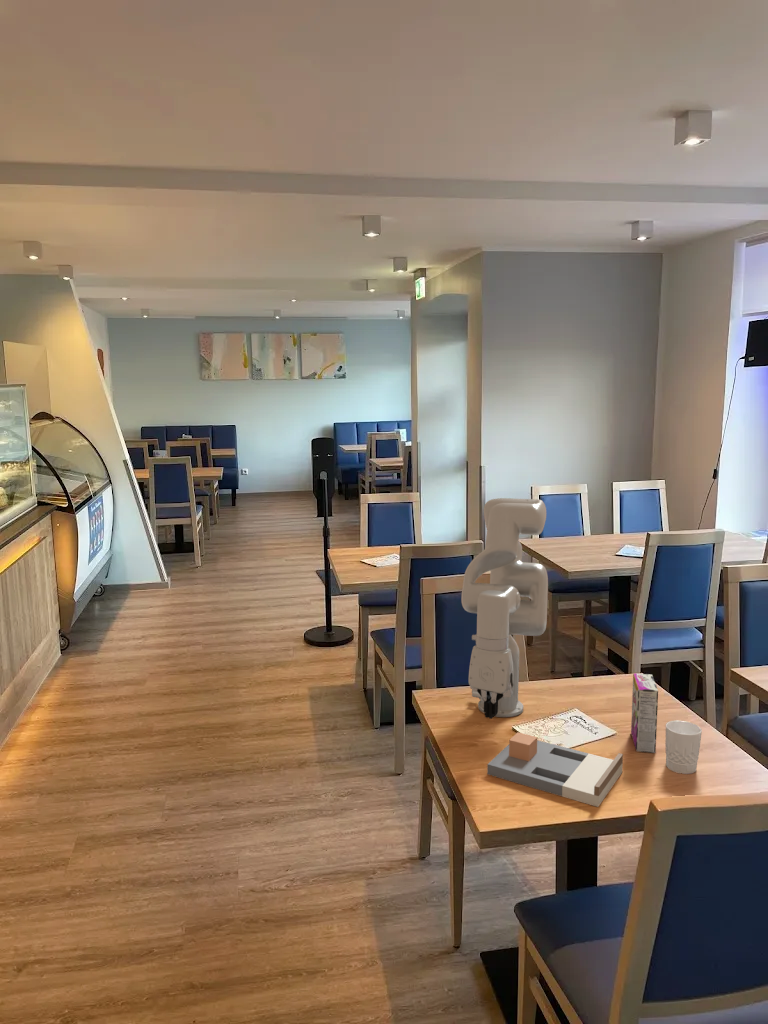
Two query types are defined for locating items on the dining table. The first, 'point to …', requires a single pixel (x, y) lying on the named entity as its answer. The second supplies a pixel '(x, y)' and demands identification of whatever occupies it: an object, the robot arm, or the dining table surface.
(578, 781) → the board
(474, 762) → the dining table surface
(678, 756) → the white cup
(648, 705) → the candy bar box
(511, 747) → the block
